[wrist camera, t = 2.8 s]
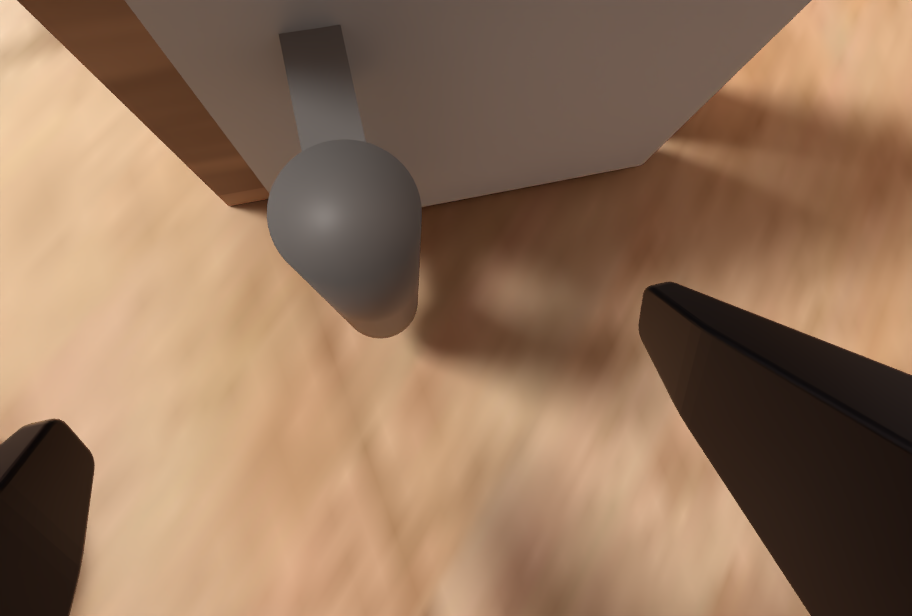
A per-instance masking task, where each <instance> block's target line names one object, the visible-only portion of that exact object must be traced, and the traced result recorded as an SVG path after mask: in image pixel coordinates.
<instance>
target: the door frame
mask: <svg viewBox="0 0 912 616" xmlns="http://www.w3.org/2000/svg"><path fill="white" fill-rule="evenodd" d="M17 1H18V2H19V3H21V4H22V5H23V6H24V7H25V8H26V9H27V10H28V11H29V12H30V13H31V14H32V15H33V16H34V17H35V18H36V19H37V20H38V21H39V22H40V23H41V24H42V25H43V26H44V27H45V28H46V29H47V30H48V31H49V32H50V33H51V34H52V35H53V36H54V37H55V38H56V39H57V40H59V41H60V42H61V43H62V44H63V45H64V46H65V47H66V48H67V49H68V50H69V51H70V52H71V53H72V54H73V55H74V56H75V57H76V58H77V59H78V60H79V61H80V62H81V63H82V64H83V65H84V66H85V67H86V68H87V69H88V70H89V71H90V72H91V73H92V74H93V75H94V76H95V77H97V78H98V79H99V80H100V81H101V82H102V83H103V84H104V85H105V86H106V87H107V88H108V89H109V90H110V91H111V92H112V93H113V94H114V95H115V96H116V97H117V98H118V99H119V100H120V101H121V102H122V103H123V104H124V105H125V106H126V107H127V108H128V109H129V110H130V111H131V112H132V113H134V114H135V115H136V116H137V117H138V118H139V119H140V120H141V121H142V122H143V123H144V124H145V125H146V126H147V127H148V128H149V129H150V130H151V131H152V132H153V133H154V134H155V135H156V136H157V137H158V138H159V139H160V140H161V141H162V142H163V143H164V144H165V145H166V146H167V147H168V148H169V149H170V150H172V151H173V152H174V153H175V154H176V155H177V156H178V157H179V158H180V159H181V160H182V161H183V162H184V163H185V164H186V165H187V166H188V167H189V168H190V169H191V170H192V171H193V172H194V173H195V174H196V175H197V176H198V177H199V178H200V179H201V180H202V181H203V182H204V183H205V184H206V185H207V186H208V187H210V188H211V189H212V190H213V191H214V192H215V193H216V194H217V195H218V196H219V197H220V198H221V199H222V200H223V201H224V202H225V203H226V204H227V205H228V206H233V205H238V204H244V203H249V202H255V201H260V200H266V199H268V198H269V192H268V191H267V190H266V188H265V187H264V186H263V184H262V183H261V182H260V180H259V179H258V178H257V176H256V175H255V174H254V172H253V171H252V170H251V168H250V167H249V166H248V164H247V163H246V162H245V160H244V159H243V158H242V156H241V155H240V154H239V152H238V151H237V150H236V148H235V147H234V146H233V144H232V143H231V142H230V140H229V139H228V138H227V136H226V135H225V134H224V132H223V131H222V130H221V128H220V127H219V126H218V124H217V123H216V122H215V120H214V119H213V118H212V116H211V115H210V114H209V112H208V111H207V110H206V108H205V107H204V106H203V104H202V103H201V102H200V100H199V99H198V98H197V96H196V95H195V94H194V92H193V91H192V90H191V88H190V87H189V86H188V84H187V83H186V82H185V80H184V79H183V78H182V76H181V75H180V74H179V72H178V71H177V70H176V68H175V67H174V66H173V64H172V63H171V62H170V60H169V59H168V58H167V56H166V55H165V54H164V52H163V51H162V50H161V48H160V47H159V46H158V44H157V43H156V42H155V40H154V39H153V38H152V36H151V35H150V34H149V32H148V31H147V30H146V28H145V27H144V26H143V24H142V23H141V22H140V20H139V19H138V18H137V16H136V15H135V14H134V12H133V11H132V10H131V8H130V7H129V6H128V4H127V3H126V1H125V0H17Z"/></svg>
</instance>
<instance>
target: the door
mask: <svg viewBox="0 0 912 616" xmlns="http://www.w3.org/2000/svg"><path fill="white" fill-rule="evenodd" d="M125 1H126V3H127V4H128V6H129V7H130V8H131V10H132V11H133V12H134V14H135V15H136V16H137V18H138V19H139V20H140V22H141V23H142V24H143V26H144V27H145V28H146V30H147V31H148V32H149V34H150V35H151V36H152V38H153V39H154V40H155V42H156V43H157V44H158V46H159V47H160V48H161V50H162V51H163V52H164V54H165V55H166V56H167V58H168V59H169V60H170V62H171V63H172V64H173V66H174V67H175V68H176V70H177V71H178V72H179V74H180V75H181V76H182V78H183V79H184V80H185V82H186V83H187V84H188V86H189V87H190V88H191V90H192V91H193V92H194V94H195V95H196V96H197V98H198V99H199V100H200V102H201V103H202V104H203V106H204V107H205V108H206V110H207V111H208V112H209V114H210V115H211V116H212V118H213V119H214V120H215V122H216V123H217V124H218V126H219V127H220V128H221V130H222V131H223V132H224V134H225V135H226V136H227V138H228V139H229V140H230V142H231V143H232V144H233V146H234V147H235V148H236V150H237V151H238V152H239V154H240V155H241V156H242V158H243V159H244V160H245V162H246V163H247V164H248V166H249V167H250V168H251V170H252V171H253V172H254V174H255V175H256V176H257V178H258V179H259V180H260V182H261V183H262V184H263V186H264V187H265V188H266V190H267V191H268V192H269V198H268V204H267V221H268V228H269V231H270V235H271V238H272V240H273V242H274V245H275V246H276V248H277V250H278V252H279V253H280V254H281V256H282V257H283V258H284V259H285V261H286V262H287V263H288V264H289V265H290V266H291V267H292V268H293V269H294V270H296V271H297V272H298V273H299V274H300V275H301V276H302V277H303V278H304V279H305V280H306V281H307V282H308V283H309V284H310V285H311V286H312V287H313V288H314V289H315V290H316V291H317V292H318V293H319V294H320V295H321V296H322V297H323V298H324V299H325V300H326V301H327V302H328V303H329V304H330V305H331V306H332V307H333V308H334V309H335V310H336V311H337V312H338V313H339V314H340V315H341V316H342V317H343V318H344V319H346V320H347V321H348V322H349V323H350V324H351V325H352V326H353V327H354V328H355V329H356V330H357V331H358V332H360V333H362V334H364V335H366V336H368V337H372V338H388V337H391V336H394V335H397V334H399V333H400V332H402V331H403V330H404V329H406V328H407V327H408V326H409V324H410V323H411V322H412V320H413V318H414V316H415V314H416V311H417V305H418V286H419V265H420V243H421V221H422V207H425V206H430V205H435V204H441V203H446V202H451V201H456V200H462V199H467V198H472V197H477V196H483V195H488V194H493V193H498V192H504V191H509V190H514V189H519V188H525V187H530V186H535V185H540V184H546V183H551V182H556V181H561V180H567V179H572V178H577V177H582V176H588V175H593V174H598V173H603V172H608V171H614V170H619V169H624V168H629V167H635V166H640V165H642V164H643V163H644V162H646V161H647V160H648V159H649V158H650V157H651V156H652V155H653V154H654V153H655V152H656V151H657V150H658V149H659V148H660V147H661V146H662V145H663V144H664V143H665V142H666V141H667V140H668V139H669V138H670V137H671V136H672V135H673V134H674V133H675V132H676V131H677V130H678V129H680V128H681V127H682V126H683V125H684V124H685V123H686V122H687V121H688V120H689V119H690V118H691V117H692V116H693V115H694V114H695V113H696V112H697V111H698V110H699V109H700V108H701V107H702V106H703V105H704V104H705V103H706V102H707V101H708V100H709V99H710V98H711V97H712V96H713V95H715V94H716V93H717V92H718V91H719V90H720V89H721V88H722V87H723V86H724V85H725V84H726V83H727V82H728V81H729V80H730V79H731V78H732V77H733V76H734V75H735V74H736V73H737V72H738V71H739V70H740V69H741V68H742V67H743V66H744V65H745V64H746V63H747V62H748V61H750V60H751V59H752V58H753V57H754V56H755V55H756V54H757V53H758V52H759V51H760V50H761V49H762V48H763V47H764V46H765V45H766V44H767V43H768V42H769V41H770V40H771V39H772V38H773V37H774V36H775V35H776V34H777V33H778V32H779V31H780V30H781V29H782V28H784V27H785V26H786V25H787V24H788V23H789V22H790V21H791V20H792V19H793V18H794V17H795V16H796V15H797V14H798V13H799V12H800V11H801V10H802V9H803V8H804V7H805V6H806V5H807V4H808V3H809V2H810V1H811V0H125Z"/></svg>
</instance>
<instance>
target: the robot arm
mask: <svg viewBox="0 0 912 616" xmlns="http://www.w3.org/2000/svg"><path fill="white" fill-rule="evenodd" d="M639 334H640V337H641V340H642V342H643V344H644V346H645V348H646V350H647V352H648V354H649V356H650V358H651V360H652V362H653V363H654V365H655V367H656V369H657V371H658V373H659V375H660V377H661V379H662V381H663V383H664V385H665V387H666V389H667V391H668V393H669V395H670V397H671V399H672V401H673V403H674V405H675V407H676V409H677V410H678V412H679V414H680V416H681V417H682V419H683V421H684V422H685V424H686V425H687V427H688V429H689V430H690V432H691V433H692V435H693V436H694V438H695V439H696V441H697V442H698V444H699V445H700V447H701V448H702V450H703V452H704V453H705V455H706V456H707V458H708V459H709V461H710V462H711V464H712V465H713V467H714V468H715V470H716V471H717V473H718V474H719V476H720V477H721V479H722V481H723V482H724V484H725V485H726V487H727V488H728V490H729V491H730V493H731V494H732V496H733V497H734V499H735V500H736V502H737V503H738V505H739V507H740V508H741V510H742V511H743V513H744V514H745V516H746V517H747V519H748V520H749V522H750V523H751V525H752V526H753V528H754V529H755V531H756V533H757V534H758V536H759V537H760V539H761V540H762V542H763V543H764V545H765V546H766V548H767V549H768V551H769V552H770V554H771V555H772V557H773V558H774V560H775V562H776V563H777V565H778V566H779V568H780V569H781V571H782V572H783V574H784V575H785V577H786V578H787V580H788V581H789V583H790V584H791V586H792V588H793V589H794V591H795V592H796V594H797V595H798V597H799V598H800V600H801V601H802V603H803V604H804V606H805V607H806V609H807V610H808V612H809V613H810V615H811V616H912V375H910V374H907V373H905V372H902V371H900V370H897V369H895V368H892V367H889V366H887V365H884V364H882V363H879V362H877V361H874V360H871V359H869V358H866V357H864V356H861V355H859V354H856V353H853V352H851V351H848V350H846V349H843V348H841V347H838V346H836V345H833V344H830V343H828V342H825V341H823V340H820V339H818V338H815V337H812V336H810V335H807V334H805V333H802V332H800V331H797V330H795V329H792V328H789V327H787V326H784V325H782V324H779V323H777V322H774V321H771V320H769V319H766V318H764V317H761V316H759V315H756V314H754V313H751V312H748V311H746V310H743V309H741V308H738V307H736V306H733V305H730V304H728V303H725V302H723V301H720V300H718V299H715V298H713V297H710V296H707V295H705V294H702V293H700V292H697V291H695V290H692V289H689V288H687V287H684V286H682V285H679V284H677V283H674V282H664V283H660V284H655V285H651V286H649V287H647V288H646V289H645V291H644V293H643V299H642V305H641V312H640V318H639ZM93 476H94V459H93V456H92V454H91V452H90V450H89V449H88V448H87V447H86V446H85V445H84V443H83V442H82V441H81V440H80V439H79V438H78V436H77V435H76V434H75V433H74V432H73V431H72V430H71V428H70V427H69V426H68V425H67V424H66V423H65V422H64V421H62V420H60V419H49V420H44V421H40V422H35V423H31V424H28V425H25V426H23V427H22V428H20V429H19V430H18V431H17V432H15V433H14V434H13V435H12V436H10V437H9V438H8V439H7V440H6V441H4V442H3V443H2V444H1V445H0V616H69V614H70V610H71V606H72V602H73V598H74V594H75V590H76V586H77V582H78V577H79V573H80V568H81V563H82V557H83V551H84V544H85V536H86V528H87V521H88V513H89V506H90V498H91V491H92V483H93Z"/></svg>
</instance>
